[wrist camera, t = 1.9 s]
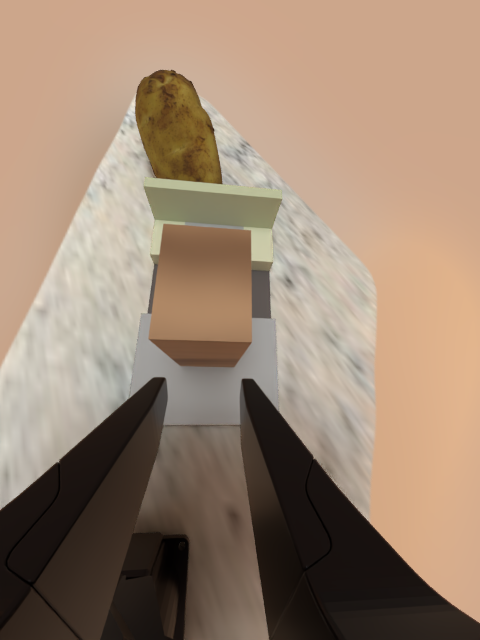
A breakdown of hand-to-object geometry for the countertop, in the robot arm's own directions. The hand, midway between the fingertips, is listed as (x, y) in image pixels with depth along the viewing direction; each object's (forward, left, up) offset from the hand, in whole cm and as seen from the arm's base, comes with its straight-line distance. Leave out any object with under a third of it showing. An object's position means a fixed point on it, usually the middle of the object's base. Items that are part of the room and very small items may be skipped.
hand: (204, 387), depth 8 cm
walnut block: (+5, 0, -12) cm, 13 cm away
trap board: (+7, 0, -14) cm, 16 cm away
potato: (+24, +4, -14) cm, 28 cm away
